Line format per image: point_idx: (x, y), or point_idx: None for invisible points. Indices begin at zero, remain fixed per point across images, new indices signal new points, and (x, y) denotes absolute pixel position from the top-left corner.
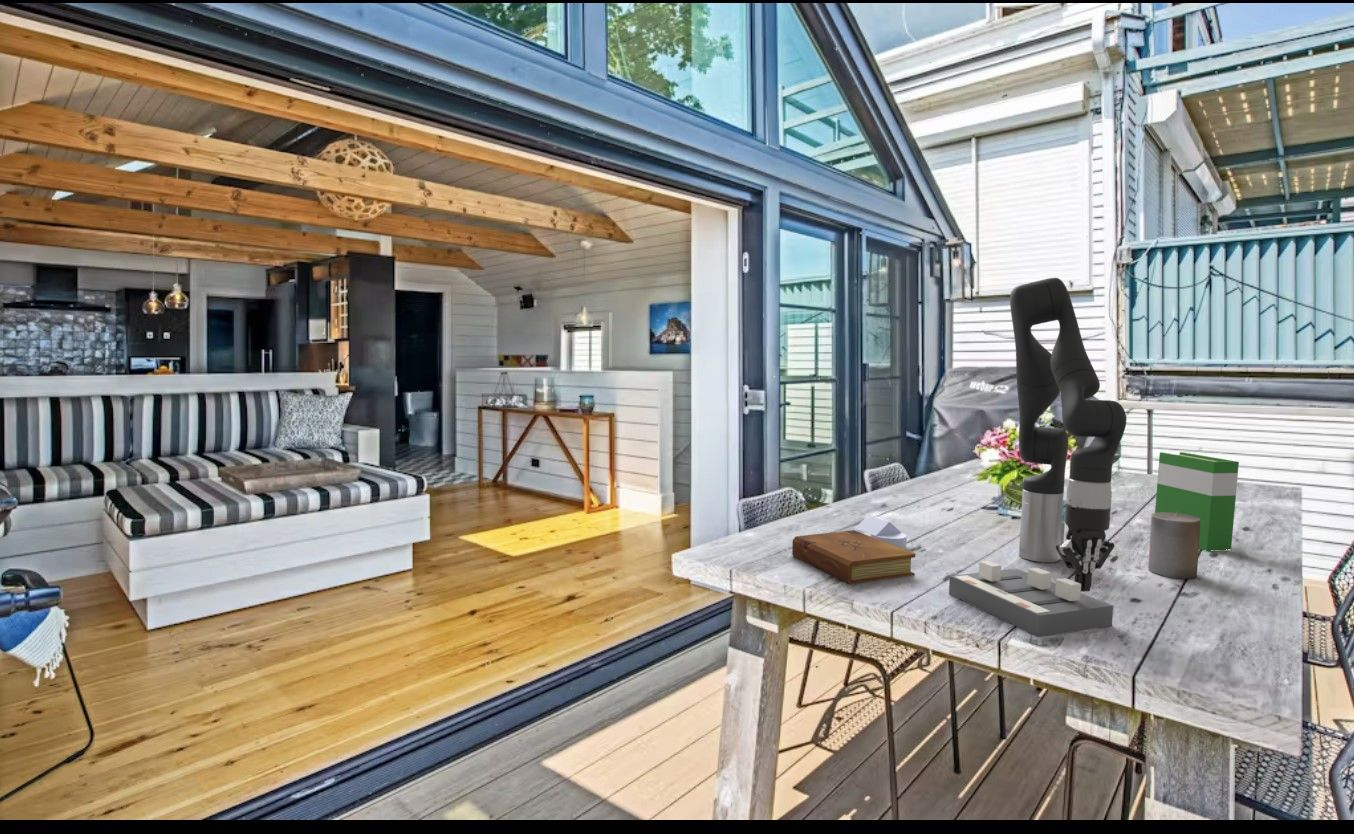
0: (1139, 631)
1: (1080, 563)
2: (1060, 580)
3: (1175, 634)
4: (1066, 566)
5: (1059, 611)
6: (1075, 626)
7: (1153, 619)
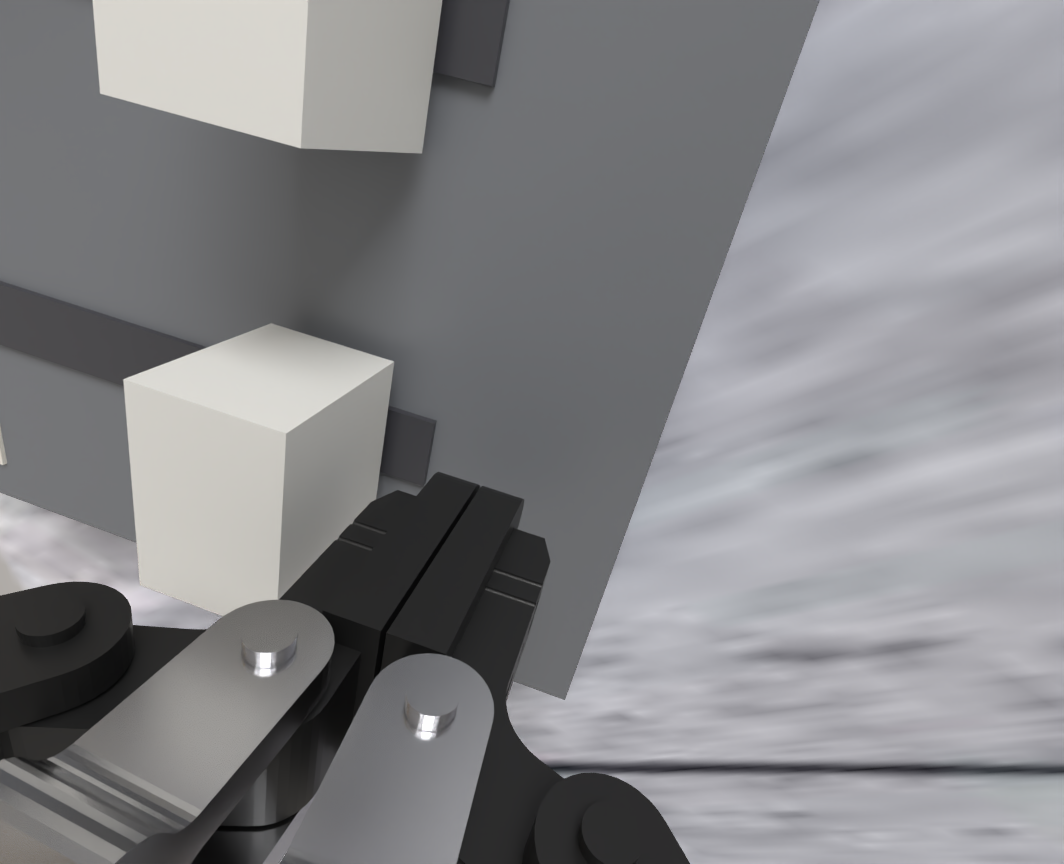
0: (642, 705)
1: (344, 752)
2: (141, 438)
3: (773, 828)
4: (37, 588)
5: (69, 499)
6: None
7: (1000, 723)
